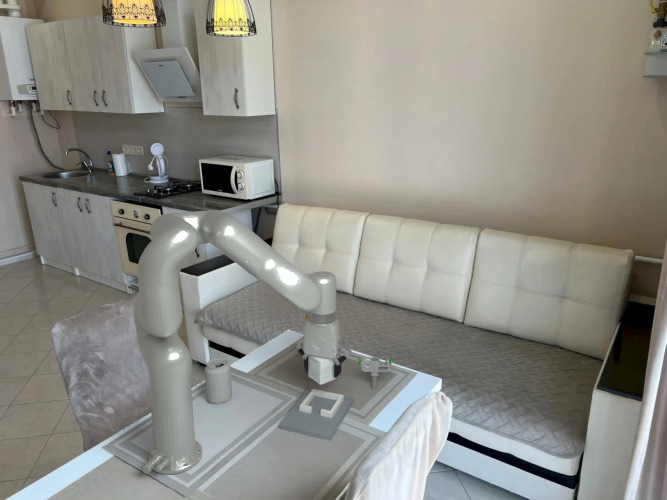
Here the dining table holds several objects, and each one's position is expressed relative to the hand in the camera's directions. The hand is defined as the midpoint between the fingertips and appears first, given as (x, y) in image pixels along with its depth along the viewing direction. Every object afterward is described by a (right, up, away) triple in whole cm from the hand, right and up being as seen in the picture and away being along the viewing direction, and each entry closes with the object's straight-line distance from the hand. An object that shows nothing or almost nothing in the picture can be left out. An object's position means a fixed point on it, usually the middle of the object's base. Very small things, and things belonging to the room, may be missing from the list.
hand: (322, 372), depth 140 cm
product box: (0, -2, +1) cm, 2 cm away
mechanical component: (+16, -9, +15) cm, 23 cm away
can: (-31, -10, +8) cm, 34 cm away
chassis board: (-1, -12, 0) cm, 12 cm away
